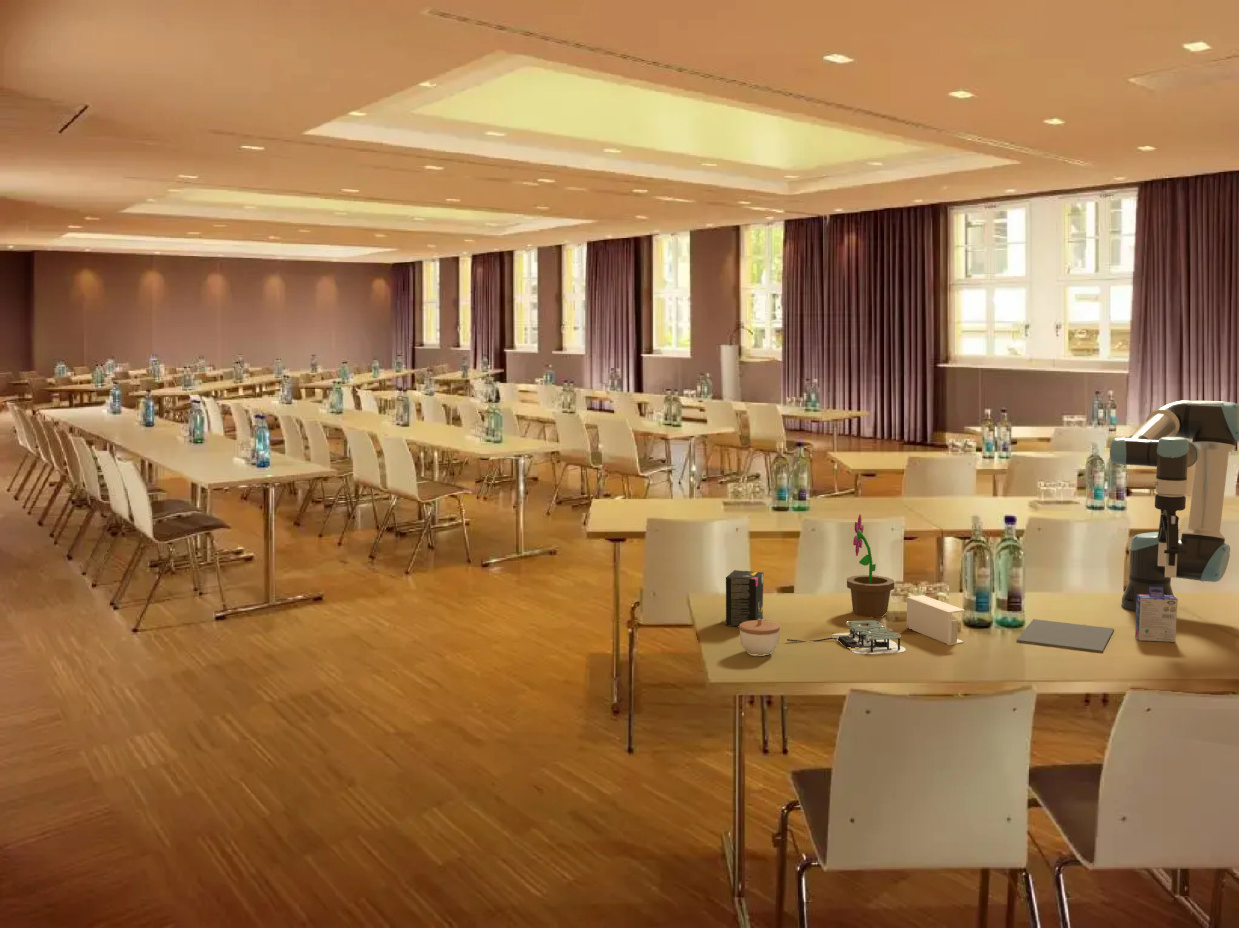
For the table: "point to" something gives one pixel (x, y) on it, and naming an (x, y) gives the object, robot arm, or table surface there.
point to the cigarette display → (933, 619)
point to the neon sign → (868, 638)
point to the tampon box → (744, 597)
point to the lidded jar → (759, 636)
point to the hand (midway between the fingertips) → (1166, 571)
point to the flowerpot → (868, 584)
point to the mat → (1066, 635)
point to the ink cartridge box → (1156, 616)
